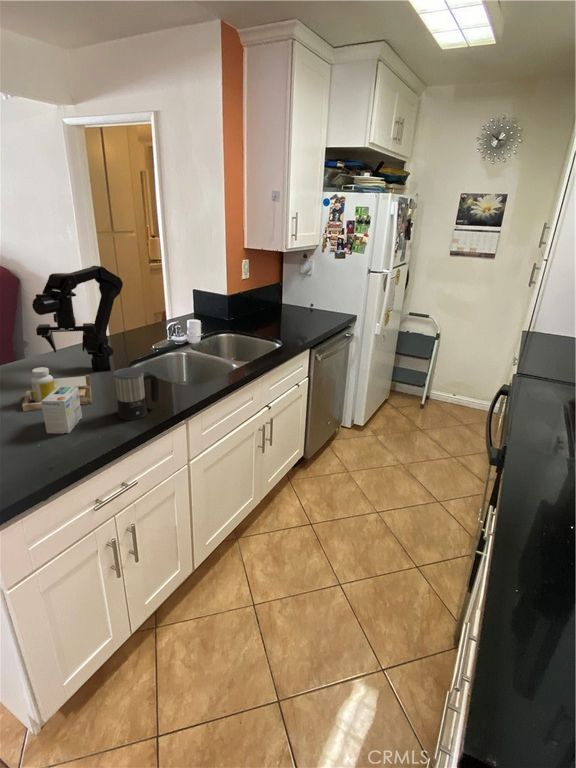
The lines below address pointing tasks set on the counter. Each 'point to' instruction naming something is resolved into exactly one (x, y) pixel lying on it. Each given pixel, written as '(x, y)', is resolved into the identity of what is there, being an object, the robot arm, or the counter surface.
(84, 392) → the offcut stack
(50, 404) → the light bulb box
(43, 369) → the pill bottle
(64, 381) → the pale grey mat
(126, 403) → the milk frother
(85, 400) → the birch rack
